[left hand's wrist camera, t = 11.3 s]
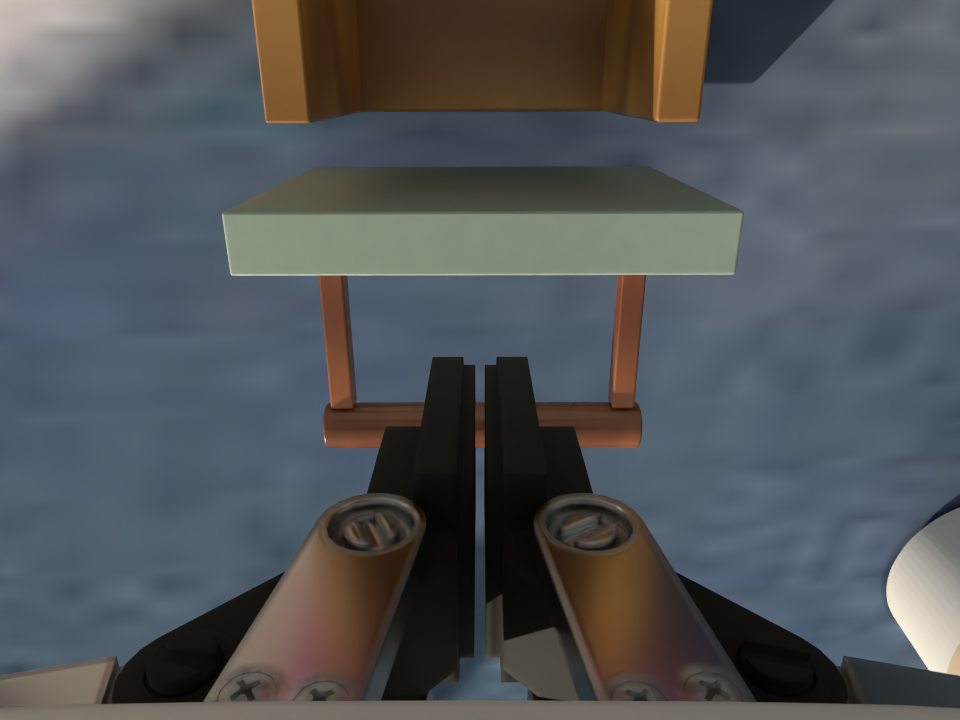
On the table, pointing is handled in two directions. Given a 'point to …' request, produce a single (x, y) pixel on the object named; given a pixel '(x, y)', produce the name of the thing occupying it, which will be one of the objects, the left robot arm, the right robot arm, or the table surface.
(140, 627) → the table surface
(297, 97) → the drawer
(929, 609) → the coffee cup
